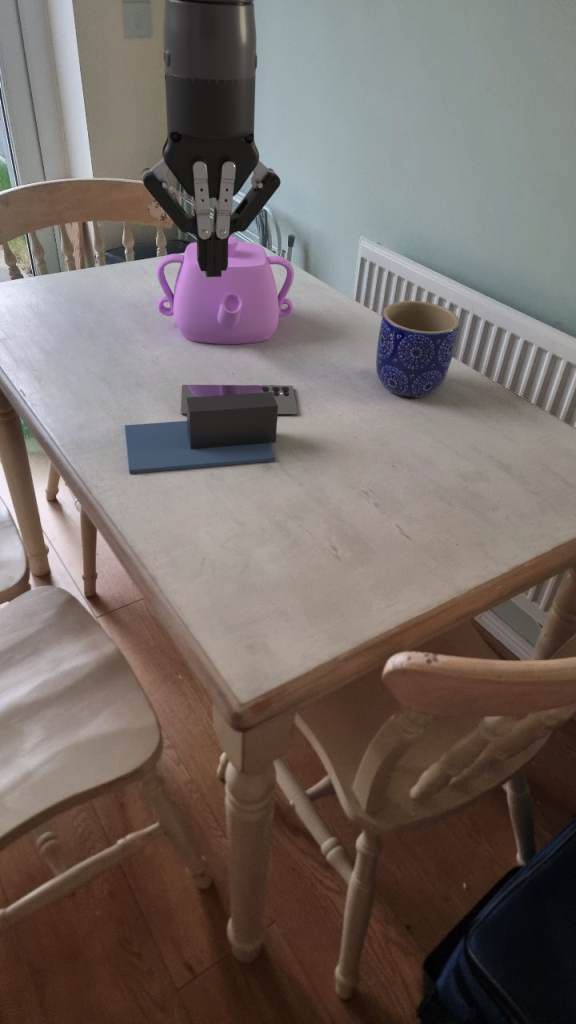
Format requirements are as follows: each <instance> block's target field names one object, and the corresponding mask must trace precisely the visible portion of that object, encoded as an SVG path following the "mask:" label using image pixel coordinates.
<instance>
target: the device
mask: <svg viewBox="0 0 576 1024" xmlns="http://www.w3.org/2000/svg"><path fill="white" fill-rule="evenodd" d="M186 406H187V414H186V421H187V432H188V438H189V443H190V448H191V449H201V448H213V447H225V446H238V445H250V444H262V443H270V444H275V443H277V429H278V415H277V414H278V405H277V403H276V400H275V398H274V395H273V393H272V392H264V393H248V394H233V395H217V396H202V397H187V398H186Z"/></svg>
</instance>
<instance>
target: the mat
mask: <svg viewBox="0 0 576 1024" xmlns="http://www.w3.org/2000/svg"><path fill="white" fill-rule="evenodd" d="M124 432H125V442H126V452H127V453H126V454H127V460H128V461H127V463H128V473H129V474H130V475H132V474H144V473H154V472H167V471H168V472H169V471H178V470H190V469H200V468H213V467H225V466H234V465H235V466H236V465H245V464H258V463H260V464H261V463H269V462H271V463H272V462H275V461H276V457H275V454H274V451H273V447H272V446H271V443H262V444H250V445H238V446H225V447H213V448H201V449H191V448H190V443H189V438H188V432H187V420H181V421H166V422H151V423H137V424H126V425H124Z"/></svg>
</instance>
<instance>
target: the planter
mask: <svg viewBox="0 0 576 1024" xmlns="http://www.w3.org/2000/svg"><path fill="white" fill-rule="evenodd" d="M460 321H461V320H460V318H459V317H458V316H457V314H455V312H454V311H452V310H450V309H449V308H446V307H444V306H441V305H440V304H436V303H432V302H427V301H421V300H420V301H419V300H405V301H404V300H403V301H397V302H394V303H391V304H388V306H387V305H386V307H385V308H384V309H383V311H382V315H381V319H380V326H379V331H378V332H379V333H378V340H377V346H376V357H375V370H376V374H377V377H378V379H379V381H380V383H381V384H382V386H383V387H384V388H385V389H387V390H388V391H389V392H391V393H393V394H395V395H398V396H400V397H403V398H404V397H405V398H422V397H426V396H429V395H431V394H432V393H434V392H436V391H437V390H438V389H439V388H440V387H441V386H442V384H443V383H444V382H445V380H446V378H447V375H448V372H449V370H450V366H451V363H452V359H453V355H454V351H455V348H456V343H457V338H458V335H459V330H460V324H461V323H460Z"/></svg>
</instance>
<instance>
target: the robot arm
mask: <svg viewBox="0 0 576 1024" xmlns="http://www.w3.org/2000/svg"><path fill="white" fill-rule="evenodd" d="M254 2H255V0H164V10H163V23H162V44H163V62H164V87H165V88H164V89H165V108H166V109H165V110H166V133H167V134H166V140H165V142H164V144H163V147H162V151H161V152H162V157H161V159H159V160H158V161H157V162H156V163H155V164H153V165H152V166H151V167H145V168H143V170H142V171H141V179H142V183H143V186H144V187H145V189H146V190H147V191H148V192H149V194H150V195H151V196H152V197H153V199H154V200H155V201H156V202H157V204H158V205H159V207H161V208H162V210H163V211H164V212H165V213H166V214H167V216H168V217H169V219H171V221H172V222H173V223H174V225H175V226H176V227H177V228H178V230H179V231H180V232H182V233H184V234H188V233H189V234H191V235H192V234H193V235H195V236H196V242H197V262H198V265H199V267H200V270H201V271H204V272H205V275H206V277H221V275H222V271H226V269H227V267H228V239H229V237H230V236H232V235H233V234H236V233H238V232H241V233H243V232H245V231H246V230H248V228H249V227H250V225H251V224H252V223H253V221H254V220H255V219H256V218H257V216H258V215H259V214H260V212H261V211H262V210H263V209H264V207H265V206H266V205H267V204H268V203H269V200H270V199H271V198H272V197H273V195H274V194H275V193H276V191H277V190H278V189H279V187H280V186H281V183H282V182H281V179H280V177H279V175H278V174H277V173H276V172H275V170H274V169H273V168H271V167H267V166H266V165H265V164H264V163H263V162H262V161H261V160H260V153H259V150H258V148H257V145H256V141H255V111H256V109H255V108H256V72H257V68H258V54H257V27H256V16H255V15H256V14H255V3H254ZM169 172H171V173H172V175H173V176H174V178H175V179H176V180H177V182H178V183H179V185H180V186H181V187H182V189H183V190H184V192H185V193H186V194H187V195H188V196H190V197H191V201H192V208H193V215H192V214H190V213H187V211H186V210H185V209H184V207H183V206H182V205H181V203H180V202H179V201H178V200H177V199H176V197H175V196H174V195H173V194H172V192H171V191H170V188H171V185H172V182H171V179H170V177H169ZM251 175H252V177H250V176H251ZM249 177H250V185H251V187H250V189H249V190H248V191H247V192H246V194H245V195H244V197H243V198H242V199H241V200H240V202H239V203H238V205H237V206H236V208H234V210H233V202H234V197H235V196H237V195H238V193H239V192H240V191H241V190H242V187H243V186H244V185H245V184H246V182H247V180H248V179H249ZM210 199H212V200H213V201H212V203H213V214H212V227H211V207H210V205H211V204H210ZM212 228H213V229H212ZM212 230H213V231H212Z"/></svg>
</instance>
